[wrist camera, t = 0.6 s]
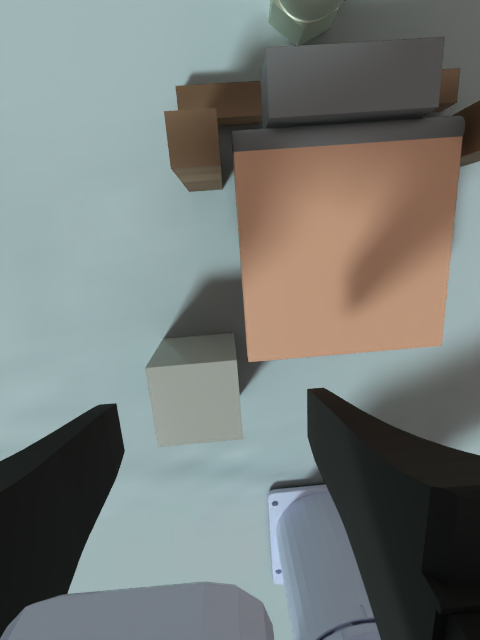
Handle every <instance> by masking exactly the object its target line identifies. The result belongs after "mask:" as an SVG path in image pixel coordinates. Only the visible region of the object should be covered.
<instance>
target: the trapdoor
mask: <svg viewBox="0 0 480 640" xmlns="http://www.w3.org/2000/svg"><path fill="white" fill-rule="evenodd" d="M443 46H444V37H434V38H418V39H401V40H385V41H368V42H351V43H335V44H318V45H301V46H285V47H268V48H266V50H265V55H264V59H263V64H262V69H261V73H260V77H261V98H262V119H263V129H253V130H238V131H232V149H233V162H234V176H235V190H236V204H237V218H238V232H239V246H240V260H241V274H242V288H243V302H244V316H245V330H246V344H247V356H248V362H256V361H268V360H279V359H291V358H303V357H314V356H326V355H338V354H349V353H361V352H373V351H384V350H396V349H408V348H419V347H431V346H442V338H443V328H444V318H445V308H446V298H447V287H448V277H449V267H450V257H451V247H452V237H453V227H454V217H455V207H456V197H457V187H458V177H459V167H460V157H461V147H462V137H463V134H464V131H465V120H464V118H463V117H462V116H447V117H432V118H421V117H423V116H425V115H426V114H428V113H430V112H431V111H433V110H434V109H436V108H438V107H439V96H440V83H441V71H442V59H443Z"/></svg>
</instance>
